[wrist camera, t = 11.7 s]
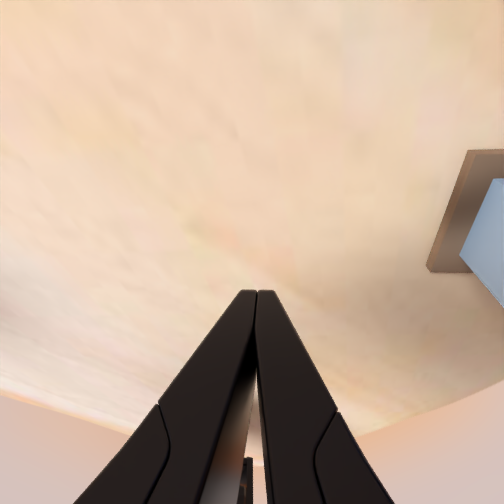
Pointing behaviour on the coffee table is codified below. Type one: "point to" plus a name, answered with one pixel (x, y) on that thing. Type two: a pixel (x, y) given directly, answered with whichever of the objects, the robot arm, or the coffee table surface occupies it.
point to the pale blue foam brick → (488, 242)
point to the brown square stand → (464, 209)
